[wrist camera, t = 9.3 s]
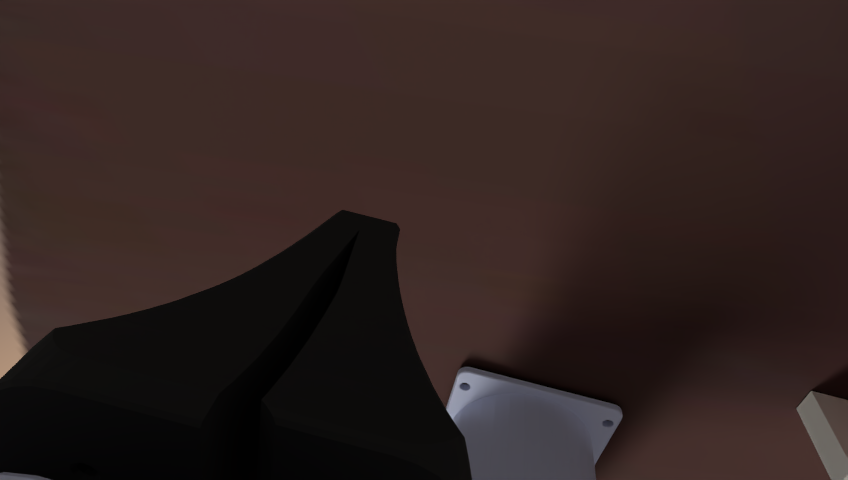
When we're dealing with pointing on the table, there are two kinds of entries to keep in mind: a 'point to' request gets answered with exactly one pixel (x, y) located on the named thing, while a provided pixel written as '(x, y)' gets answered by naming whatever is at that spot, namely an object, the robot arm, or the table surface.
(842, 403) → the box
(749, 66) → the table surface
